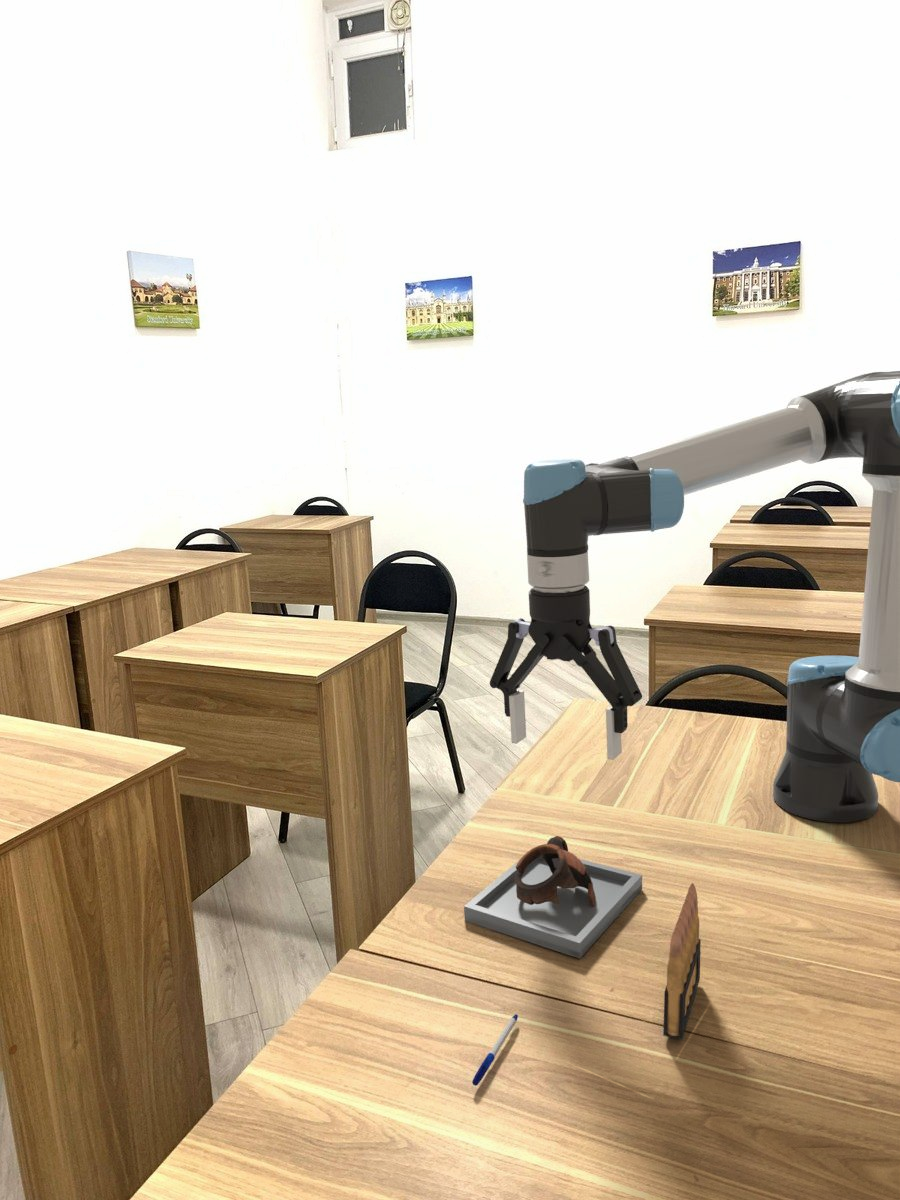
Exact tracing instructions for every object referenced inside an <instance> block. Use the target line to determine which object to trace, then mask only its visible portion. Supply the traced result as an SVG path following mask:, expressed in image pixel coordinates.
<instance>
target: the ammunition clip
mask: <svg viewBox="0 0 900 1200" xmlns="http://www.w3.org/2000/svg"><path fill="white" fill-rule="evenodd" d="M698 903H699V901H698V893H697V890H696V886H695V884H694V883H691V884H690V885H689V886H688V891H687V894H686V896H685V899H684V902H683V905H682V907H681V911H680V912H679V915H678V917H677V921H676V923H675V926H674V930H673V932H672V935H671V939H670V942H669V943H670V944H669V955H668V962H667V967H666V986H665V989H664V997H663V999H664V1000H663V1001H664V1002H663V1003H664V1004H663V1036H664V1037H668V1038H672V1039H675V1040H679V1041H682V1040H683V1038H684V1034H685V1032H686V1028H687V1024H688V1021H689V1017H690V1014H691V1012H692V1011H691V1010H692V1009H693V1007H692V1006H693V1004H694V1000H695V997H696V993H697V990H698V986H699V983H700V980H701V979H700V978H701V977H700V976H701V938H700V917H699V907H698Z"/></svg>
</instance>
